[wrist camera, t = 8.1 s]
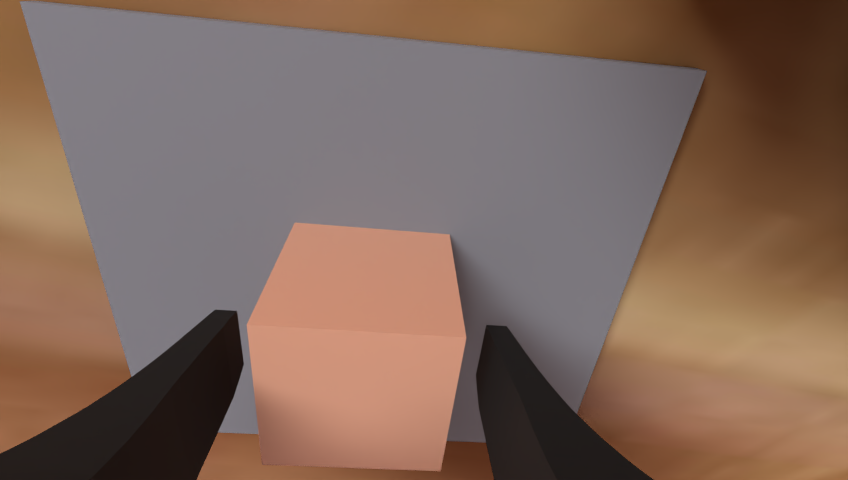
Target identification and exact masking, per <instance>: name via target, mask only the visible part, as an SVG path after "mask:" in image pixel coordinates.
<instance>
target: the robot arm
mask: <svg viewBox="0 0 848 480" xmlns="http://www.w3.org/2000/svg"><path fill="white" fill-rule="evenodd" d="M243 366H244V360H243V353H242V345H241V337H240V330H239V322H238V314H237V311H232V310H214V311H213V312H212V313H210V314H209V315H208V316H207V317H205V318H204V319H203V320H202V321H201V322H200V323H198V324H197V325H196V326H195V327H194V328H192V329H191V330H190V331H189V332H188V333H187V334H185V335H184V336H183V337H182V338H181V339H179V340H178V341H177V342H176V343H175V344H173V345H172V346H171V347H170V348H168V349H167V350H166V351H165V352H164V353H162V354H161V355H160V356H159V357H157V358H156V359H155V360H154V361H152V362H151V363H150V364H148V365H147V366H146V367H144V368H143V369H142V370H140V371H139V372H138V373H136V374H135V375H134V376H132V377H131V378H130V379H128V380H127V381H126V382H124V383H123V384H121V385H120V386H118V387H117V388H115V389H114V390H112V391H111V392H109V393H108V394H106V395H105V396H103V397H102V398H100V399H99V400H97V401H95V402H94V403H92V404H91V405H89V406H88V407H86V408H84V409H83V410H81V411H79V412H78V413H76V414H74V415H72V416H71V417H69V418H67V419H65V420H63V421H62V422H60V423H58V424H56V425H55V426H53V427H51V428H49V429H48V430H46V431H44V432H42V433H40V434H39V435H37V436H35V437H33V438H31V439H29V440H27V441H25V442H23V443H21V444H19V445H17V446H15V447H13V448H11V449H9V450H7V451H5V452H3V453H1V454H0V480H197V477H198V475H199V472H200V470H201V468H202V466H203V464H204V461H205V459H206V457H207V455H208V453H209V451H210V448H211V446H212V444H213V442H214V440H215V437H216V435H217V433H218V431H219V429H220V427H221V424H222V422H223V420H224V418H225V416H226V413H227V411H228V409H229V407H230V404H231V402H232V400H233V398H234V395H235V392H236V389H237V385H238V382H239V379H240V376H241V372H242V369H243ZM476 384H477V395H478V405H479V411H480V416H481V421H482V426H483V430H484V435H485V439H486V444H487V449H488V453H489V458H490V462H491V467H492V472H493V476H494V480H653V479H652V478H651V477H649V476H648V475H646V474H645V473H644V472H642V471H641V470H640V469H638V468H637V467H636V466H635V465H633V464H632V463H631V462H629V461H628V460H627V459H626V458H624V457H623V456H622V455H621V454H620V453H619V452H617V451H616V450H615V449H614V448H613V447H611V446H610V445H609V444H608V443H607V442H606V441H604V440H603V439H602V438H601V437H600V436H599V435H598V434H597V433H596V432H594V431H593V430H592V429H591V428H590V427H589V426H588V425H587V424H586V423H585V422H584V421H583V420H582V419H581V418H580V417H579V416H578V415H577V414H576V413H575V412H574V411H573V410H572V409H571V408H570V407H569V405H568V404H567V403H566V402H565V401H564V400H563V399H562V398H561V396H560V395H559V394H558V393H557V392H556V391H555V389H554V388H553V387H552V386H551V385H550V383H549V382H548V381H547V380H546V378H545V377H544V376H543V375H542V373H541V372H540V371H539V370H538V368H537V367H536V366H535V364H534V363H533V362H532V360H531V359H530V358H529V356H528V355H527V354H526V352H525V351H524V349H523V348H522V347H521V345H520V344H519V342H518V341H517V340H516V338H515V337H514V335H513V334H512V332H511V331H510V330H509V328H508V327H507V326H497V325H486V329H485V334H484V338H483V343H482V348H481V353H480V357H479V362H478V367H477V372H476Z"/></svg>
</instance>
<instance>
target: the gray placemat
mask: <svg viewBox="0 0 848 480" xmlns="http://www.w3.org/2000/svg"><path fill="white" fill-rule="evenodd" d="M20 4H21V7H22V10H23V14H24V17H25V20H26V24H27V27H28V31H29V34H30V37H31V41H32V44H33V47H34V51H35V54H36V57H37V61H38V64H39V67H40V71H41V74H42V78H43V81H44V84H45V88H46V91H47V94H48V98H49V101H50V104H51V108H52V111H53V115H54V118H55V121H56V125H57V128H58V131H59V135H60V138H61V141H62V145H63V148H64V152H65V155H66V158H67V162H68V165H69V168H70V172H71V175H72V178H73V182H74V185H75V188H76V192H77V195H78V199H79V202H80V205H81V209H82V212H83V215H84V219H85V222H86V225H87V229H88V232H89V236H90V239H91V242H92V246H93V249H94V252H95V256H96V259H97V262H98V266H99V269H100V273H101V276H102V279H103V283H104V286H105V289H106V293H107V296H108V299H109V303H110V306H111V309H112V313H113V316H114V320H115V323H116V326H117V330H118V333H119V336H120V340H121V343H122V346H123V350H124V353H125V357H126V360H127V363H128V367H129V370H130V373H131V377H132V376H134V375H135V374H136V373H138V372H139V371H140V370H142V369H143V368H144V367H146V366H147V365H148V364H150V363H151V362H152V361H154V360H155V359H156V358H157V357H159V356H160V355H161V354H162V353H164V352H165V351H166V350H167V349H168V348H170V347H171V346H172V345H173V344H175V343H176V342H177V341H178V340H179V339H181V338H182V337H183V336H184V335H185V334H187V333H188V332H189V331H190V330H191V329H192V328H194V327H195V326H196V325H197V324H198V323H200V322H201V321H202V320H203V319H204V318H205V317H207V316H208V315H209V314H210V313H212V312H213V311H214V310H232V311H237V314H238V322H239V330H240V337H241V345H242V353H243V360H244V366H243V369H242V372H241V376H240V379H239V382H238V385H237V389H236V392H235V395H234V398H233V400H232V402H231V404H230V407H229V409H228V411H227V413H226V416H225V418H224V420H223V422H222V424H221V427H220V429H219V431H218V432H221V433H248V434H259V432H258V423H257V414H256V405H255V396H254V387H253V378H252V369H251V359H250V350H249V341H248V332H247V323H248V321H249V319H250V316H251V314H252V312H253V310H254V308H255V306H256V304H257V302H258V299H259V297H260V295H261V293H262V291H263V289H264V287H265V285H266V282H267V280H268V278H269V276H270V274H271V272H272V270H273V268H274V265H275V263H276V261H277V259H278V257H279V255H280V253H281V251H282V248H283V246H284V244H285V242H286V240H287V238H288V236H289V234H290V231H291V229H292V227H293V225H294V223H308V224H321V225H334V226H347V227H360V228H373V229H386V230H399V231H412V232H425V233H438V234H450V240H451V246H452V252H453V258H454V264H455V271H456V277H457V283H458V289H459V295H460V301H461V307H462V314H463V320H464V326H465V332H466V343H465V348H464V353H463V358H462V363H461V368H460V373H459V379H458V384H457V389H456V394H455V399H454V404H453V409H452V415H451V420H450V425H449V430H448V435H447V440H446V441H461V442H486V439H485V435H484V430H483V426H482V421H481V416H480V411H479V405H478V395H477V384H476V372H477V367H478V362H479V357H480V353H481V348H482V343H483V338H484V334H485V329H486V325H497V326H507V327H508V328H509V330H510V331H511V332H512V334H513V335H514V337H515V338H516V340H517V341H518V342H519V344H520V345H521V347H522V348H523V349H524V351H525V352H526V354H527V355H528V356H529V358H530V359H531V360H532V362H533V363H534V364H535V366H536V367H537V368H538V370H539V371H540V372H541V373H542V375H543V376H544V377H545V378H546V380H547V381H548V382H549V383H550V385H551V386H552V387H553V388H554V389H555V391H556V392H557V393H558V394H559V395H560V396H561V398H562V399H563V400H564V401H565V402H566V403H567V404H568V405H569V407H570V408H571V409H572V410H573V411H574V412H575V413H576V414H577V412H578V409H579V407H580V404H581V402H582V399H583V396H584V394H585V391H586V388H587V386H588V383H589V380H590V378H591V375H592V373H593V370H594V367H595V365H596V362H597V359H598V357H599V354H600V351H601V349H602V346H603V344H604V341H605V338H606V336H607V333H608V330H609V328H610V325H611V322H612V320H613V317H614V315H615V312H616V309H617V307H618V304H619V301H620V299H621V296H622V294H623V291H624V288H625V286H626V283H627V280H628V278H629V275H630V272H631V270H632V267H633V265H634V262H635V259H636V257H637V254H638V251H639V249H640V246H641V243H642V241H643V238H644V236H645V233H646V230H647V228H648V225H649V222H650V220H651V217H652V214H653V212H654V209H655V207H656V204H657V201H658V199H659V196H660V193H661V191H662V188H663V185H664V183H665V180H666V178H667V175H668V172H669V170H670V167H671V164H672V162H673V159H674V156H675V154H676V151H677V149H678V146H679V143H680V141H681V138H682V135H683V133H684V130H685V128H686V125H687V122H688V120H689V117H690V114H691V112H692V109H693V106H694V104H695V101H696V99H697V96H698V93H699V91H700V88H701V85H702V83H703V80H704V77H705V75H706V72H707V71H704V70H701V69H698V68H690V67H680V66H670V65H660V64H650V63H641V62H631V61H621V60H611V59H601V58H592V57H582V56H572V55H562V54H552V53H542V52H533V51H523V50H513V49H503V48H493V47H484V46H474V45H464V44H454V43H444V42H434V41H425V40H415V39H405V38H395V37H385V36H376V35H366V34H356V33H346V32H336V31H326V30H317V29H307V28H297V27H287V26H277V25H268V24H258V23H248V22H238V21H228V20H218V19H209V18H199V17H189V16H179V15H169V14H160V13H150V12H140V11H130V10H120V9H110V8H101V7H91V6H81V5H71V4H61V3H52V2H42V1H20Z"/></svg>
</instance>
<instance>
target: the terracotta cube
mask: <svg viewBox="0 0 848 480" xmlns="http://www.w3.org/2000/svg"><path fill="white" fill-rule="evenodd" d="M247 332H248V341H249V350H250V359H251V369H252V378H253V387H254V396H255V405H256V414H257V423H258V432H259V441H260V450H261V460H262V465H288V466H315V467H342V468H369V469H397V470H424V471H441V466H442V461H443V456H444V451H445V446H446V440H447V435H448V430H449V425H450V420H451V415H452V409H453V404H454V399H455V394H456V389H457V384H458V379H459V373H460V368H461V363H462V358H463V353H464V348H465V343H466V332H465V326H464V320H463V314H462V307H461V301H460V295H459V289H458V283H457V277H456V271H455V264H454V258H453V252H452V246H451V240H450V234H438V233H425V232H412V231H399V230H386V229H373V228H360V227H347V226H334V225H321V224H308V223H294V225H293V227H292V229H291V231H290V234H289V236H288V238H287V240H286V242H285V244H284V246H283V248H282V251H281V253H280V255H279V257H278V259H277V261H276V263H275V265H274V268H273V270H272V272H271V274H270V276H269V278H268V280H267V282H266V285H265V287H264V289H263V291H262V293H261V295H260V297H259V299H258V302H257V304H256V306H255V308H254V310H253V312H252V314H251V316H250V319H249V321H248V323H247Z"/></svg>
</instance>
